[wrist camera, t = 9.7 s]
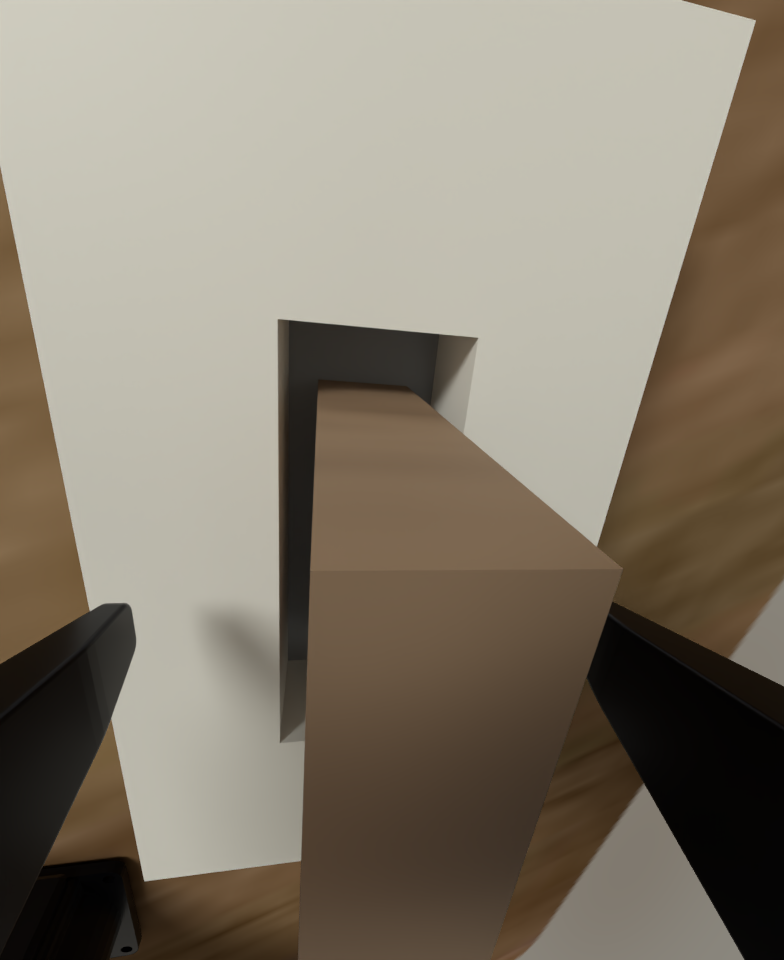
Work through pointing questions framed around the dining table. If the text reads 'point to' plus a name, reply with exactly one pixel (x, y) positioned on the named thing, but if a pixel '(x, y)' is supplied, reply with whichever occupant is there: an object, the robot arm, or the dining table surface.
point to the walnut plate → (430, 679)
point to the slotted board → (326, 308)
